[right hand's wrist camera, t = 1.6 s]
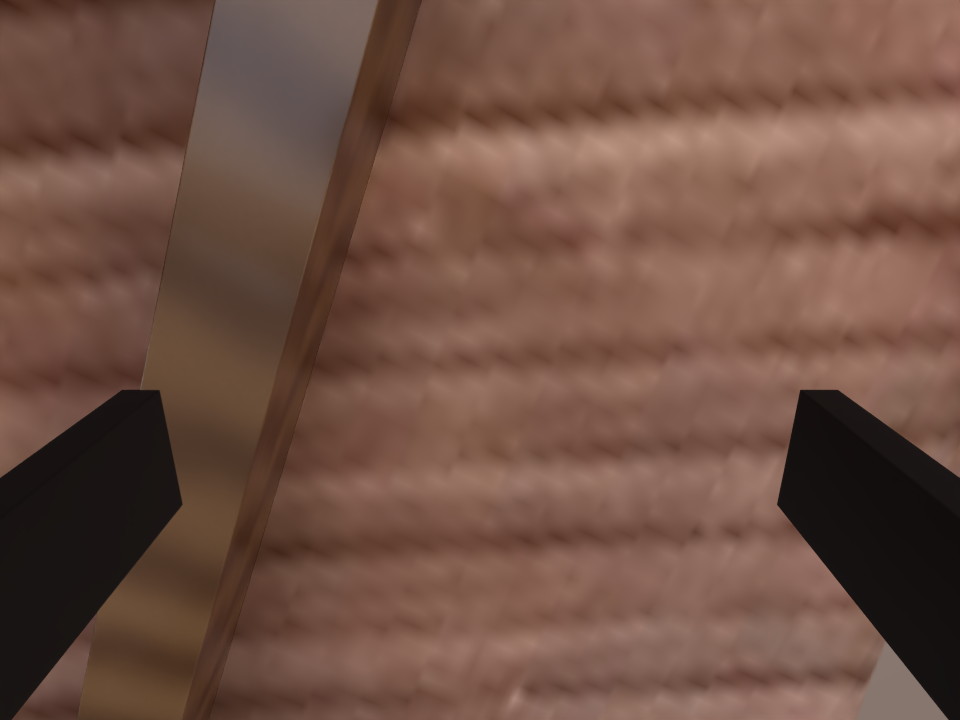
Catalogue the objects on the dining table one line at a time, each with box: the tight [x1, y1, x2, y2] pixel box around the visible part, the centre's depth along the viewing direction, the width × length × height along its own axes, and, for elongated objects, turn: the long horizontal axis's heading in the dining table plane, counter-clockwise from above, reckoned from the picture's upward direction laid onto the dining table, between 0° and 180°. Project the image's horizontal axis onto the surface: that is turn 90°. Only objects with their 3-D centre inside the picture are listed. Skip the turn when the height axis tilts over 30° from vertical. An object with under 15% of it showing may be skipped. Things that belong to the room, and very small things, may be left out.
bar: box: [77, 0, 421, 720], centre depth 29 cm, size 58×5×8 cm, turn 160°
